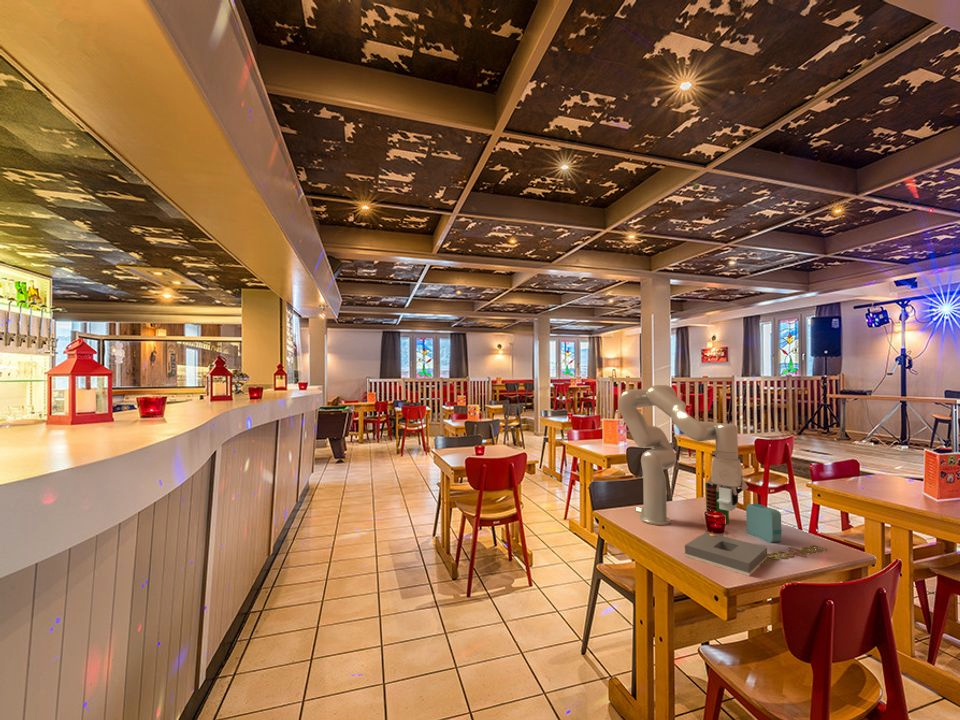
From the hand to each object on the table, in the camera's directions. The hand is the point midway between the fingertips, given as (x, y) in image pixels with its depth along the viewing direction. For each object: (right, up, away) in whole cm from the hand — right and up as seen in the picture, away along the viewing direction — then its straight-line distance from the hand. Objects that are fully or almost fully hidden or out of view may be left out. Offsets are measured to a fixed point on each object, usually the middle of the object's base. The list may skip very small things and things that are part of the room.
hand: (727, 502), depth 164 cm
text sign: (+13, -15, -12) cm, 23 cm away
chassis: (-9, -15, -14) cm, 22 cm away
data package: (+18, -16, +6) cm, 25 cm away
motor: (+10, -17, +26) cm, 32 cm away
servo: (0, -2, 0) cm, 2 cm away
